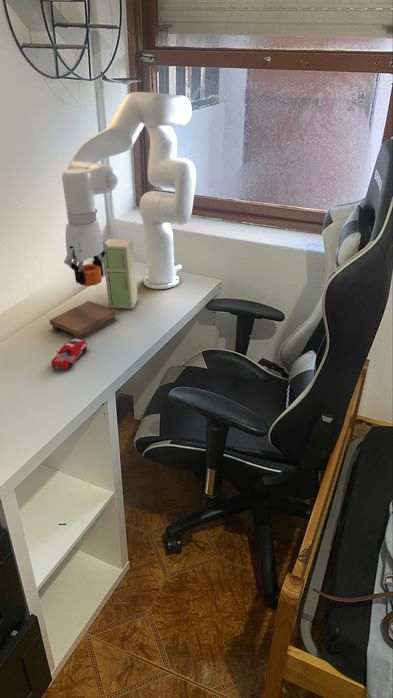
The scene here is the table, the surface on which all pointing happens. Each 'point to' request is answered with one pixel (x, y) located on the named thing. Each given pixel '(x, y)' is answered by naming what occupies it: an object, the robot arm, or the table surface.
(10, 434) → the table surface
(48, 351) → the table surface
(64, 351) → the race car
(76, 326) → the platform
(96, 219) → the robot arm
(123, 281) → the toy refrigerator
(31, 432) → the table surface
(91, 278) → the ring
